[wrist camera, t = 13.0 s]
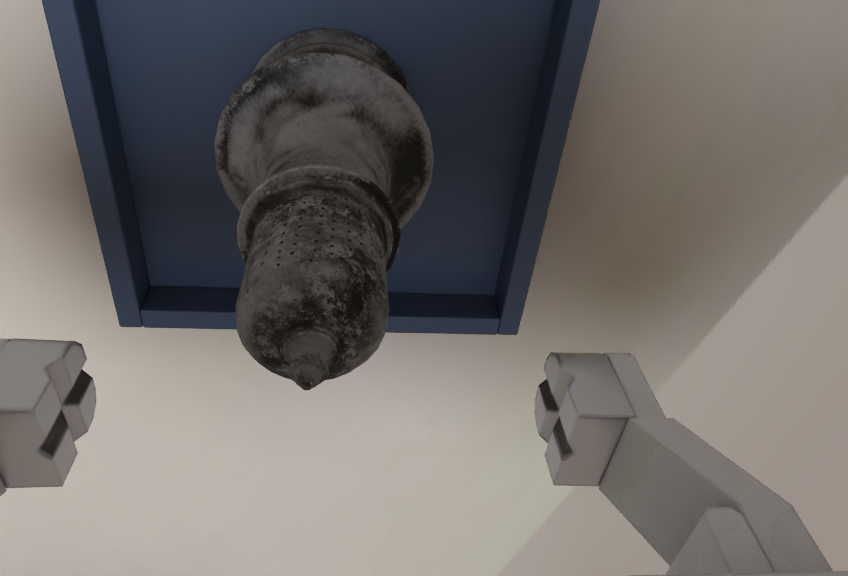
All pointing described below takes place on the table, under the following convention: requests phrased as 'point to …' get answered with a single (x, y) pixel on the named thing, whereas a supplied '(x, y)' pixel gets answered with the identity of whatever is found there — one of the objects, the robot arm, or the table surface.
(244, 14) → the tray
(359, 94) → the black chess piece
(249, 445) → the table surface
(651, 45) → the table surface
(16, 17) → the table surface
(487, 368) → the table surface
